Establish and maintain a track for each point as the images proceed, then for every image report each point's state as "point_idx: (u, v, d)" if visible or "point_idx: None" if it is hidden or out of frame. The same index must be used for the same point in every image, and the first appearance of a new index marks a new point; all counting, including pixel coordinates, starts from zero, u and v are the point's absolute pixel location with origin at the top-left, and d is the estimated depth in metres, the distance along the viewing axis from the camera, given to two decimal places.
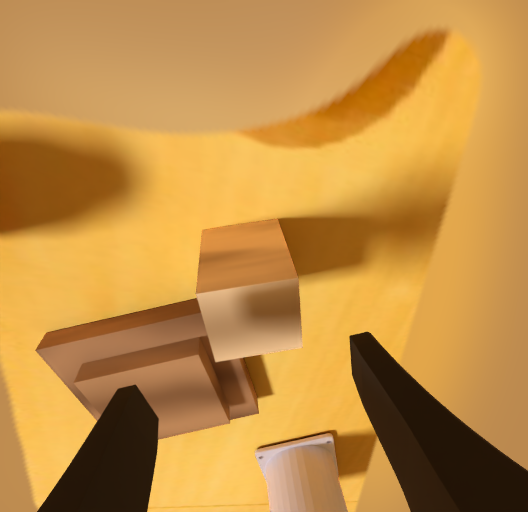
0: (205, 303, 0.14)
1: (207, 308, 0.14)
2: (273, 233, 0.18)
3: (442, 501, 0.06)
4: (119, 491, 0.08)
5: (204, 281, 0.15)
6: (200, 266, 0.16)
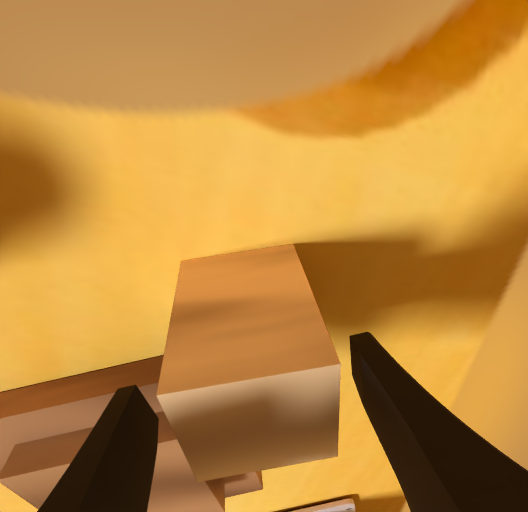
0: (175, 408, 0.08)
1: (179, 414, 0.08)
2: (288, 269, 0.11)
3: (442, 501, 0.06)
4: (119, 491, 0.08)
5: (174, 366, 0.08)
6: (171, 331, 0.09)
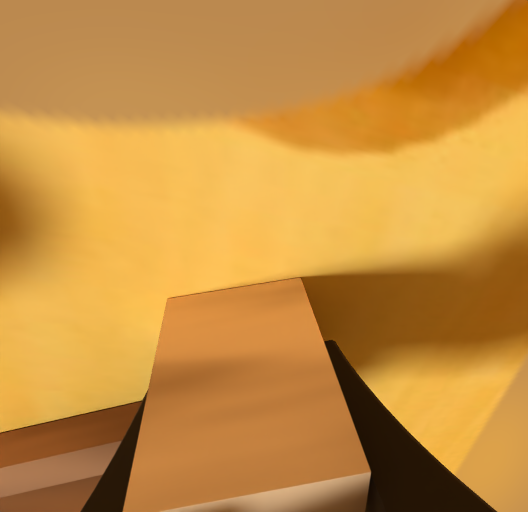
0: None
1: None
2: (296, 315, 0.09)
3: None
4: None
5: (148, 466, 0.06)
6: (148, 407, 0.07)
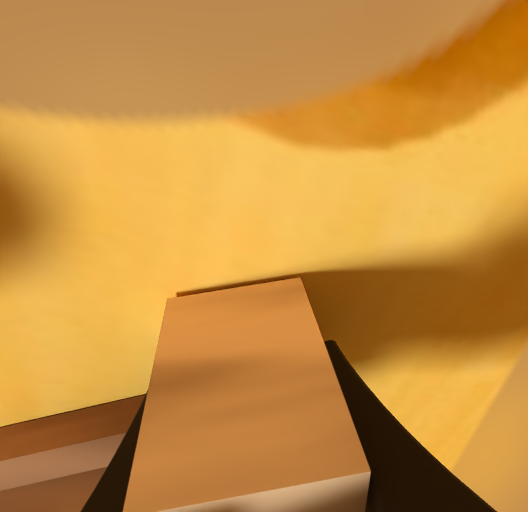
0: None
1: None
2: (296, 314, 0.09)
3: None
4: None
5: (148, 466, 0.06)
6: (148, 406, 0.07)
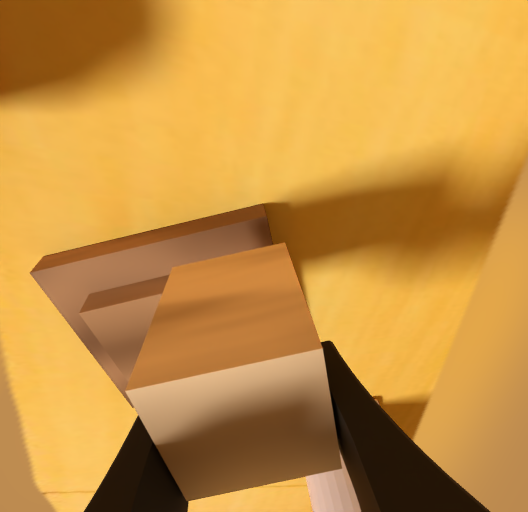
0: (147, 406, 0.07)
1: (153, 415, 0.08)
2: (277, 265, 0.11)
3: None
4: (166, 480, 0.08)
5: (148, 362, 0.08)
6: (151, 330, 0.09)
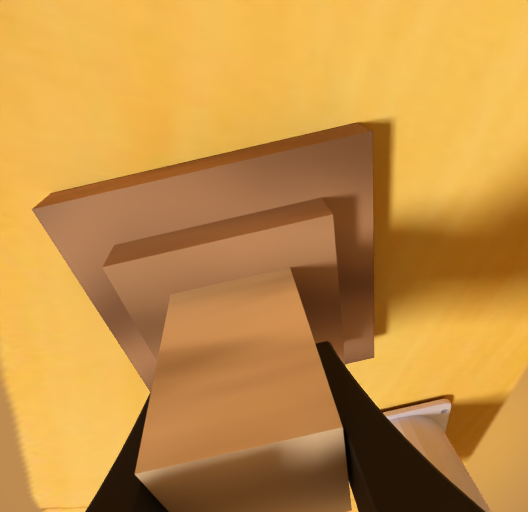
0: (158, 483, 0.07)
1: (164, 489, 0.07)
2: (285, 301, 0.10)
3: None
4: None
5: (156, 433, 0.07)
6: (155, 386, 0.09)
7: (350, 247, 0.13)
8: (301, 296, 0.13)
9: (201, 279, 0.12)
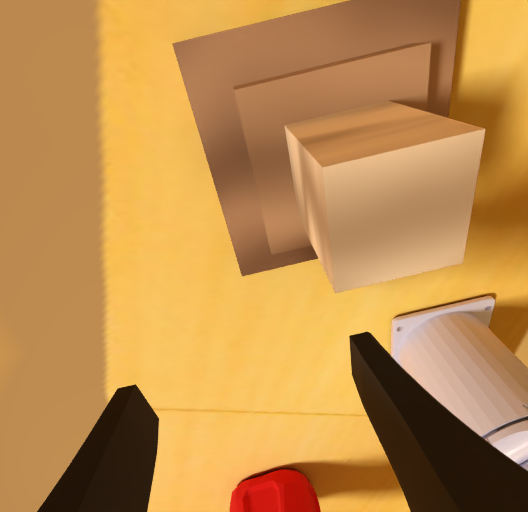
0: (334, 186, 0.09)
1: (336, 195, 0.09)
2: (395, 109, 0.12)
3: (442, 501, 0.06)
4: (119, 491, 0.08)
5: (326, 156, 0.09)
6: (307, 147, 0.10)
7: (430, 100, 0.15)
8: None
9: (312, 109, 0.14)
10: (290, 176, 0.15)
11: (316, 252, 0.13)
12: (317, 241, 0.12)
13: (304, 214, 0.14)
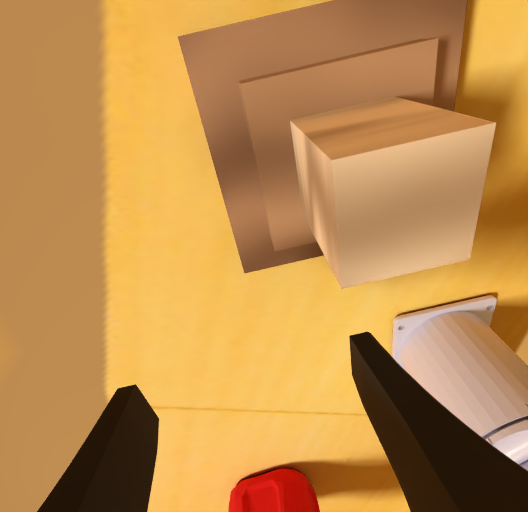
0: (343, 179, 0.09)
1: (345, 189, 0.09)
2: (402, 104, 0.12)
3: (442, 501, 0.06)
4: (119, 491, 0.08)
5: (334, 149, 0.09)
6: (315, 141, 0.10)
7: (435, 97, 0.15)
8: None
9: (318, 104, 0.13)
10: (295, 172, 0.15)
11: (321, 248, 0.13)
12: (323, 237, 0.12)
13: (309, 210, 0.14)
